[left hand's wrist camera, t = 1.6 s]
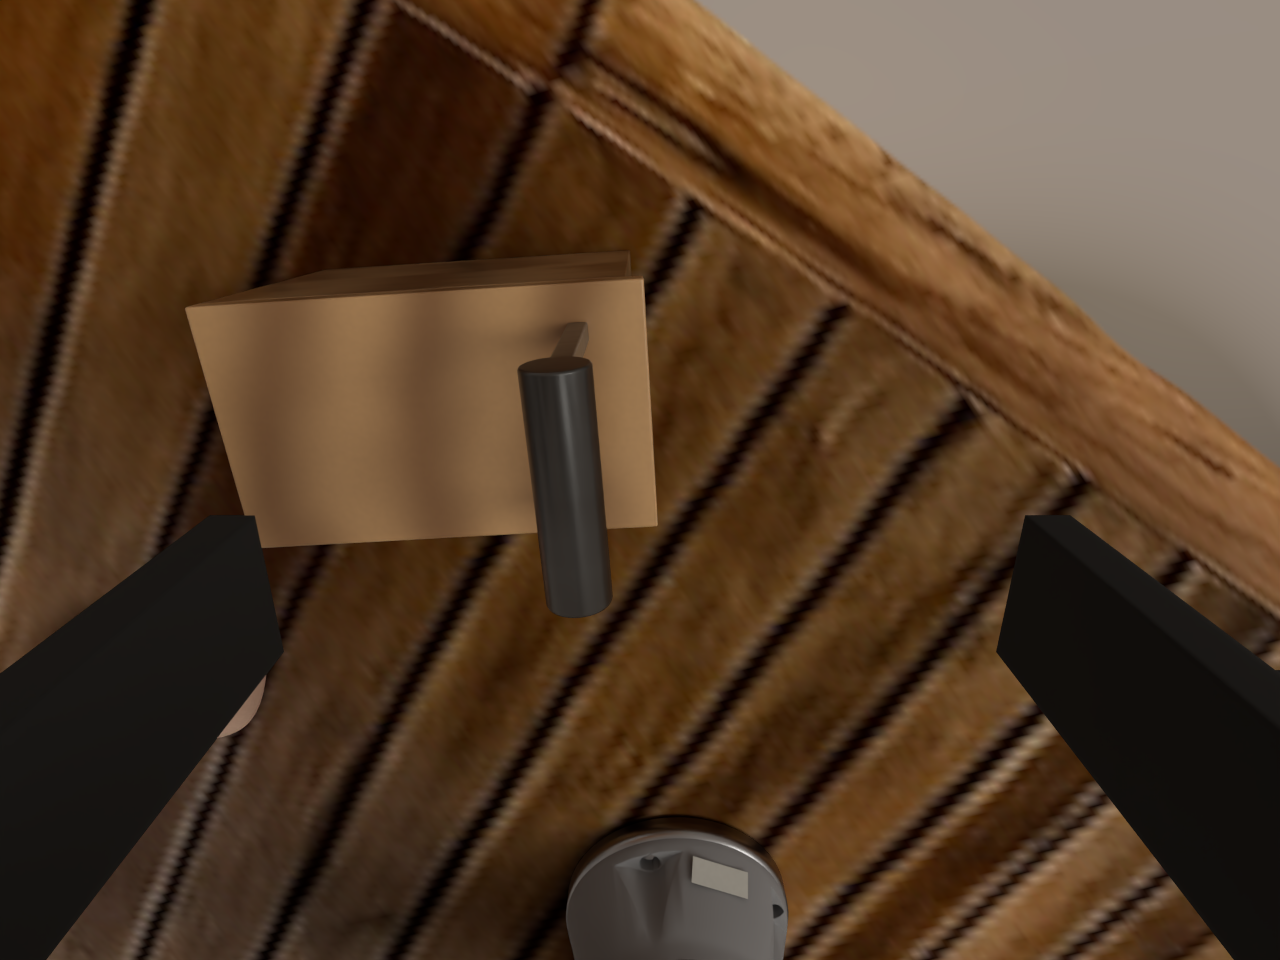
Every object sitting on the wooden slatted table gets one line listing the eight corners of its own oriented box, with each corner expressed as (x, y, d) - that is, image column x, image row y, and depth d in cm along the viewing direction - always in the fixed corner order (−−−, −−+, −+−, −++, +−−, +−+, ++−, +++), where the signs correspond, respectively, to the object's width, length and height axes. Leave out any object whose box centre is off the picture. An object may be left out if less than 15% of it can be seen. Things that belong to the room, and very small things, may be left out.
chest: (629, 250, 36) (625, 276, 25) (641, 429, 39) (641, 517, 29) (325, 269, 36) (199, 303, 26) (363, 445, 39) (265, 538, 29)
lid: (643, 275, 25) (645, 318, 17) (657, 516, 29) (664, 649, 20) (198, 303, 26) (-10, 359, 17) (264, 538, 29) (116, 677, 21)
